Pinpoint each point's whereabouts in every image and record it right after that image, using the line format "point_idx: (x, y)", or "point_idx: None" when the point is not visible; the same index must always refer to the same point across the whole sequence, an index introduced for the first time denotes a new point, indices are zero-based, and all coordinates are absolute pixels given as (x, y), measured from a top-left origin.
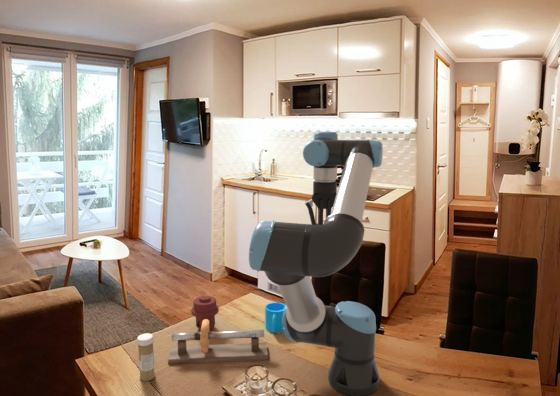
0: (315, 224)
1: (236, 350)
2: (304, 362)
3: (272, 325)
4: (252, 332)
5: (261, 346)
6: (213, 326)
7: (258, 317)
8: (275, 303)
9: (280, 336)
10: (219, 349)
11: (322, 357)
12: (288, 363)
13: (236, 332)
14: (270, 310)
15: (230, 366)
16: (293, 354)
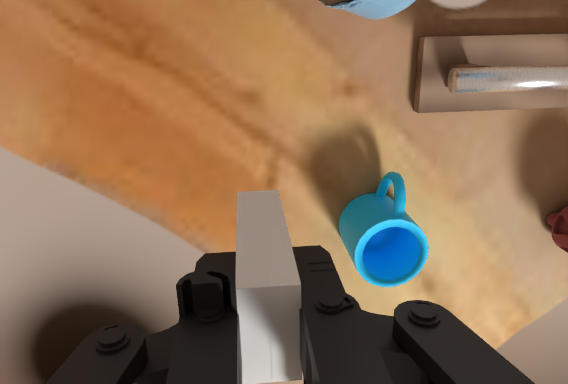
0: (459, 374)
1: None
2: (312, 10)
3: (401, 177)
4: (497, 72)
5: (436, 90)
6: (555, 217)
7: (414, 281)
8: (389, 280)
9: (364, 169)
10: None
11: (252, 37)
12: None
13: (550, 72)
14: (413, 229)
15: (529, 3)
16: (339, 60)
